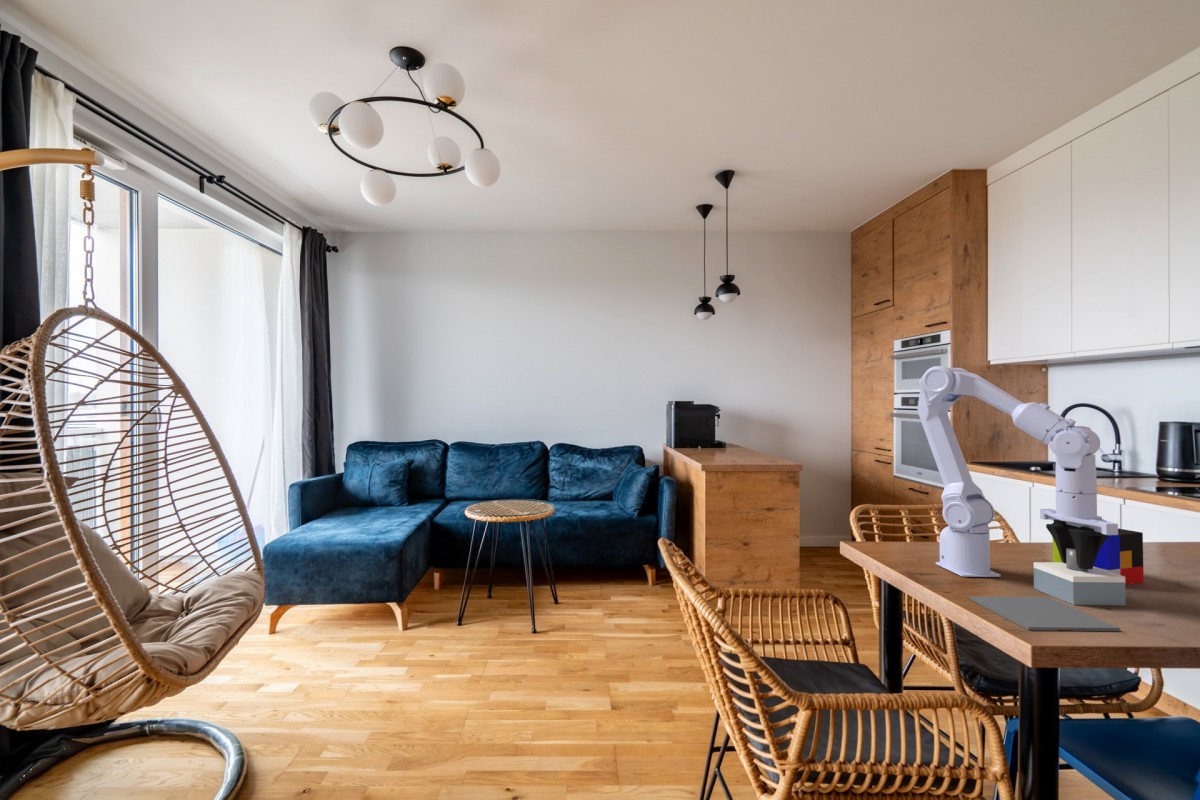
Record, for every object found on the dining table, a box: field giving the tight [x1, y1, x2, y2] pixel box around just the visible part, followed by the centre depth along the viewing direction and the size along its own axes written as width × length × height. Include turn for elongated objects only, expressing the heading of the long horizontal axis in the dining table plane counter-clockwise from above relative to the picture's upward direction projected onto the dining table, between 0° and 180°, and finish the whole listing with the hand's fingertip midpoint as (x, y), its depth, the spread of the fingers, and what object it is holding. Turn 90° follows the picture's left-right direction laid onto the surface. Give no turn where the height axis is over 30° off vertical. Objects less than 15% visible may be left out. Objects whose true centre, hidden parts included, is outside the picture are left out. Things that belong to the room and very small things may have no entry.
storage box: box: [1033, 567, 1127, 606], centre depth 100 cm, size 9×9×4 cm
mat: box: [968, 596, 1121, 632], centre depth 91 cm, size 14×14×1 cm
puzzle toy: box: [1052, 523, 1145, 586], centre depth 112 cm, size 10×10×10 cm
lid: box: [1033, 548, 1125, 582], centre depth 100 cm, size 9×9×5 cm
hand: (1077, 565), depth 100 cm, fingers closed on lid, 3 cm apart
